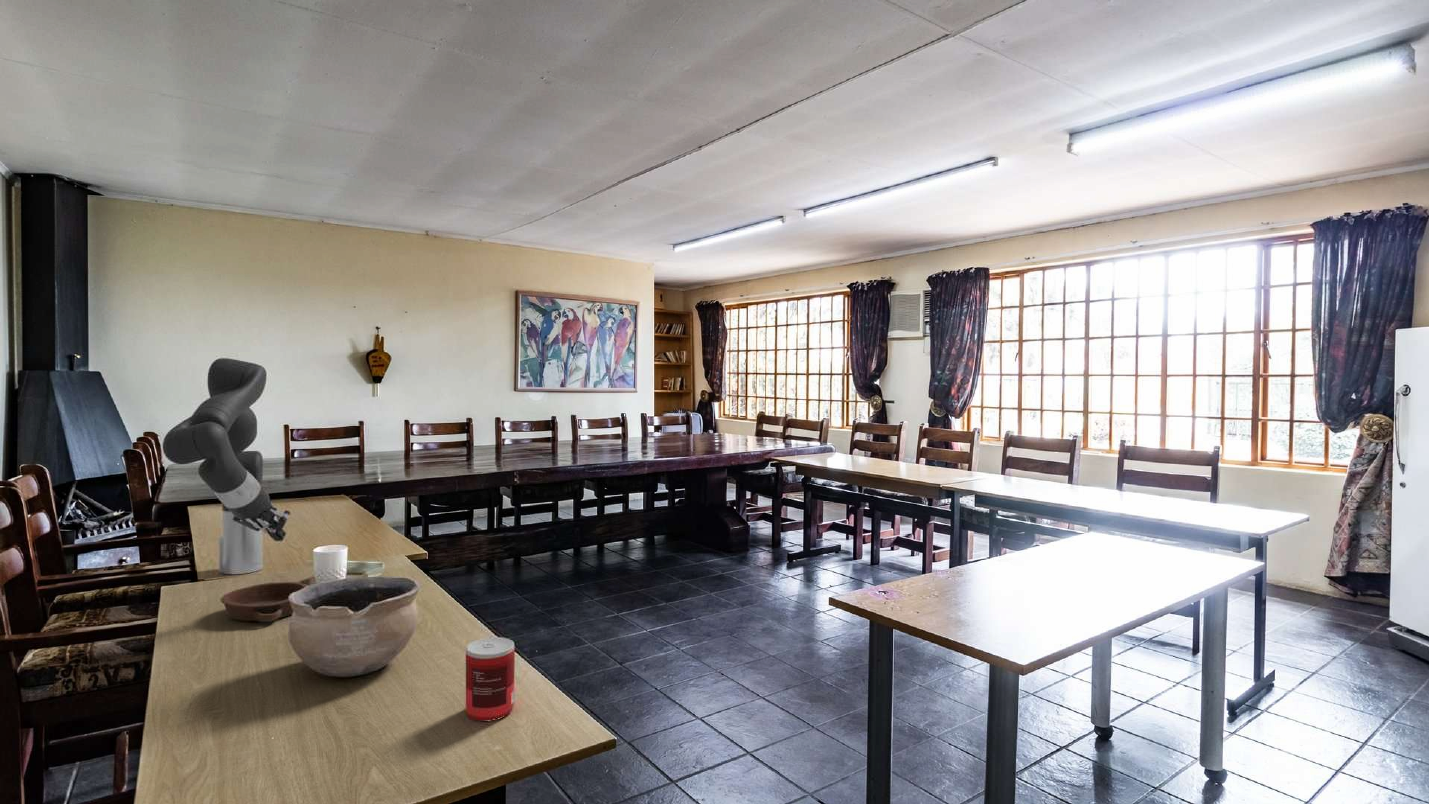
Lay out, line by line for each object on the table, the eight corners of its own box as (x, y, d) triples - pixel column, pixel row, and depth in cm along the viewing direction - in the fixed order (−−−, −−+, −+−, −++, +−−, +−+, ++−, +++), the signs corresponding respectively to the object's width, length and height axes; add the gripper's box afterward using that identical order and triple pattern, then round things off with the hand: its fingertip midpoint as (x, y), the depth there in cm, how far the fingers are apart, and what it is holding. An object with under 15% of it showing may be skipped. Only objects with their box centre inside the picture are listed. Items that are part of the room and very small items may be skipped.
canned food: (496, 696, 122) (496, 633, 122) (524, 710, 117) (524, 644, 117) (455, 711, 116) (455, 645, 116) (483, 727, 111) (483, 658, 111)
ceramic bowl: (269, 698, 120) (269, 611, 120) (306, 650, 141) (306, 576, 141) (410, 685, 126) (410, 602, 126) (425, 641, 147) (426, 569, 146)
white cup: (305, 589, 181) (305, 550, 180) (330, 581, 188) (330, 543, 188) (330, 592, 179) (330, 553, 178) (354, 584, 186) (354, 546, 186)
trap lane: (281, 596, 175) (281, 584, 174) (340, 571, 198) (339, 560, 198) (331, 599, 173) (331, 586, 173) (384, 572, 197) (384, 562, 197)
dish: (218, 635, 149) (217, 612, 149) (223, 606, 168) (223, 585, 167) (313, 621, 158) (313, 599, 158) (308, 595, 177) (308, 575, 177)
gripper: (278, 479, 154) (315, 524, 166) (221, 478, 155) (262, 523, 167) (261, 508, 149) (300, 552, 161) (202, 506, 150) (245, 551, 162)
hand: (280, 537), depth 164 cm, fingers closed
